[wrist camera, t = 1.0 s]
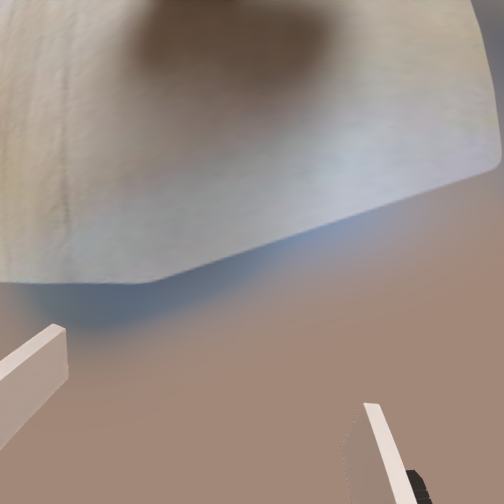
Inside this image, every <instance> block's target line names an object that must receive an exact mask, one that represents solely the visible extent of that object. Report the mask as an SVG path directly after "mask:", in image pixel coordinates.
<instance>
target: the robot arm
mask: <svg viewBox="0 0 504 504" xmlns="http://www.w3.org/2000/svg"><path fill="white" fill-rule="evenodd" d="M68 378H69V370H68V359H67V343H66V329H65V328H63V327H60V326H58V325H56V324H51V325H50V326H48V327H47V328H45V329H44V330H43V331H41V332H40V333H38V334H37V335H36V336H34V337H33V338H32V339H30V340H29V341H27V342H26V343H25V344H23V345H22V346H21V347H19V348H18V349H16V350H15V351H14V352H12V353H11V354H9V355H8V356H7V357H5V358H4V359H3V360H1V361H0V450H1V449H2V448H3V447H4V446H5V445H6V443H7V442H8V441H9V440H10V439H11V438H12V437H13V436H14V435H15V434H16V433H17V431H18V430H19V429H20V428H21V427H22V426H23V425H24V424H25V423H26V422H27V421H28V420H29V419H30V417H31V416H32V415H33V414H34V413H35V412H36V411H37V410H38V409H39V408H40V407H41V406H42V405H43V404H44V403H45V402H46V401H47V400H48V399H49V397H50V396H51V395H52V394H53V393H54V392H55V391H56V390H57V389H58V388H59V387H60V386H61V385H62V384H63V383H64V382H65V381H66V380H67V379H68ZM340 447H341V452H342V457H343V462H344V467H345V472H346V477H347V482H348V488H349V492H350V498H351V504H432V502H431V499H429V494H428V492H427V491H426V487H425V484H424V482H423V479H422V478H421V477H420V476H419V475H418V473H417V472H416V471H415V470H406V471H405V469H404V466H403V463H402V461H401V458H400V455H399V453H398V450H397V448H396V445H395V443H394V440H393V437H392V435H391V432H390V430H389V427H388V425H387V423H386V420H385V418H384V415H383V413H382V410H381V408H380V405H379V404H370V403H363V405H362V407H361V409H360V411H359V413H358V414H357V416H356V418H355V420H354V422H353V424H352V426H351V428H350V430H349V431H348V433H347V435H346V437H345V439H344V441H343V442H342V444H341V446H340Z"/></svg>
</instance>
